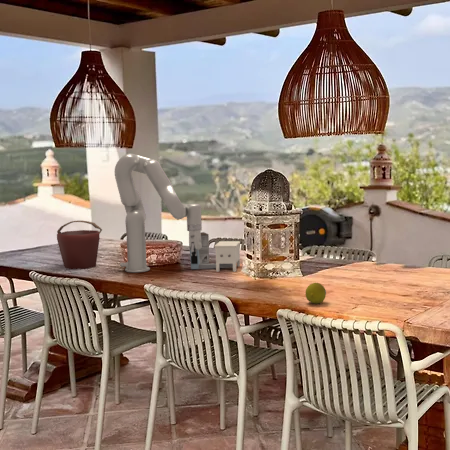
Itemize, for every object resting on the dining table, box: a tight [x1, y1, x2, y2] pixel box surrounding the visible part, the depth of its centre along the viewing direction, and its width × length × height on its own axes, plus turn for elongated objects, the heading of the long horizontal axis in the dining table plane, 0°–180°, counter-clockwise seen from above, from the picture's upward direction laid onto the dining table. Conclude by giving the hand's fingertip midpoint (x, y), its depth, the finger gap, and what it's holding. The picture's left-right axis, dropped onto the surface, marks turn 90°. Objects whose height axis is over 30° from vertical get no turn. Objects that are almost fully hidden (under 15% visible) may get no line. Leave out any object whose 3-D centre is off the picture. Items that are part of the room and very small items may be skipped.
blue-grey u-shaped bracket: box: [189, 248, 233, 270], centre depth 333 cm, size 22×4×11 cm, turn 81°
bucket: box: [56, 220, 103, 270], centre depth 348 cm, size 24×22×25 cm
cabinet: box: [214, 240, 241, 272], centre depth 331 cm, size 11×18×13 cm, turn 171°
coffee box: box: [199, 231, 210, 264], centre depth 353 cm, size 9×6×16 cm
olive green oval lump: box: [305, 282, 327, 305], centre depth 251 cm, size 11×8×8 cm
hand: (195, 262), depth 335 cm, fingers closed on blue-grey u-shaped bracket, 4 cm apart
